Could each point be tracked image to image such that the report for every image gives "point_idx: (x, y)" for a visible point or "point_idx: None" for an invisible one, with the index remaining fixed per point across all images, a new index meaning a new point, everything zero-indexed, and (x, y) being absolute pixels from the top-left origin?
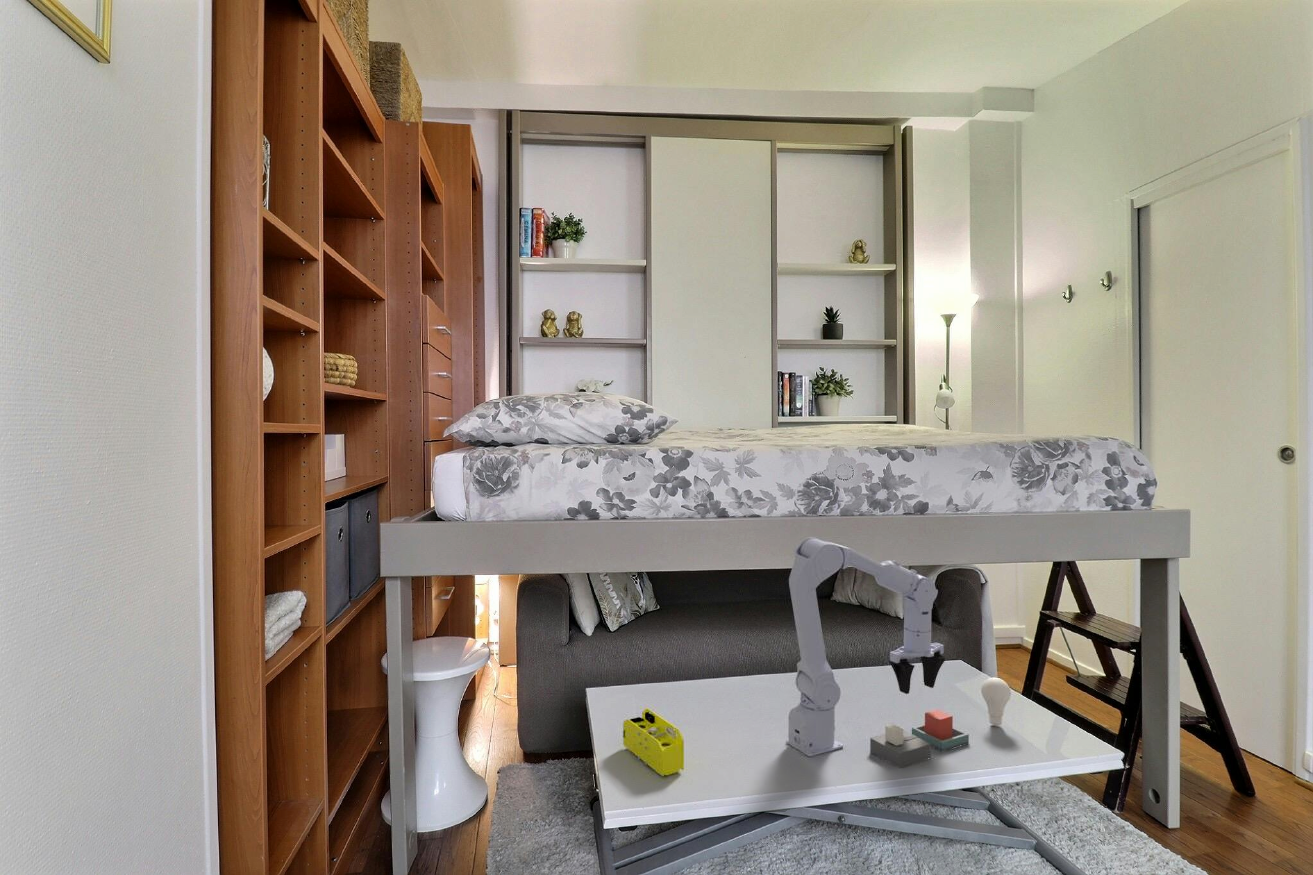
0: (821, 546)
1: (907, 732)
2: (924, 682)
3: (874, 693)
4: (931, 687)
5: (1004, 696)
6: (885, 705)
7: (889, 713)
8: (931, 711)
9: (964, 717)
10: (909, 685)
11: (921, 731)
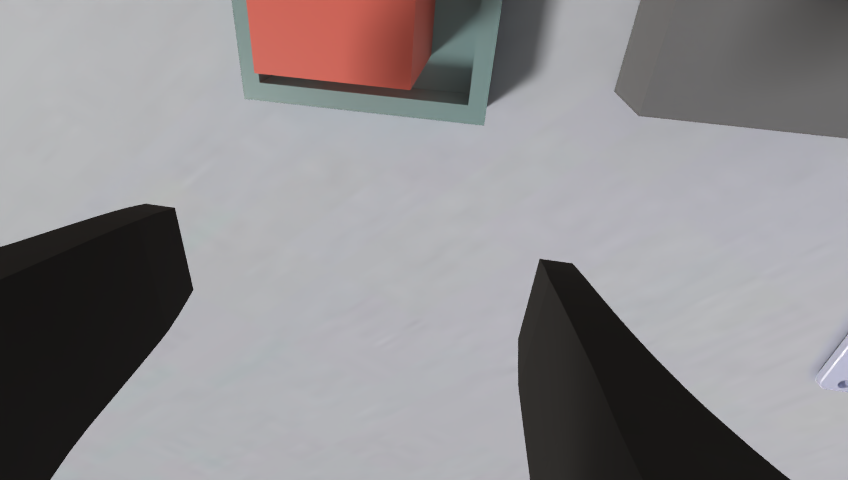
0: None
1: (662, 50)
2: (178, 307)
3: (260, 437)
4: (170, 211)
5: None
6: (303, 369)
7: (350, 323)
8: (335, 76)
9: (20, 94)
10: (578, 312)
11: (483, 48)
